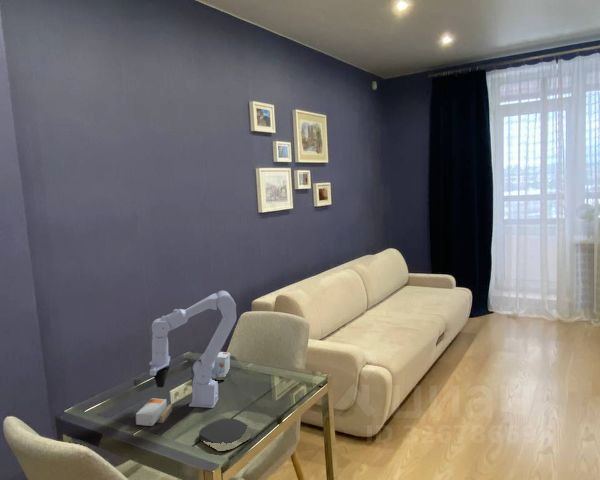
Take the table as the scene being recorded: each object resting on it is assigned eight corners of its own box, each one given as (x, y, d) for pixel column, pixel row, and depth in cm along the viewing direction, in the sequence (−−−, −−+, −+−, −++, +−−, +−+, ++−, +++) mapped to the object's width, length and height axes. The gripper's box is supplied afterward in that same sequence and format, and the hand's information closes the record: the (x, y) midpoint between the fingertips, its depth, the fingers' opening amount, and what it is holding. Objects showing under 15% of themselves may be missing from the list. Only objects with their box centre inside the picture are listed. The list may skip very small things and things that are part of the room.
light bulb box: (201, 379, 191) (201, 355, 190) (207, 373, 198) (207, 350, 197) (225, 381, 190) (225, 357, 188) (230, 375, 196) (230, 352, 195)
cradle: (172, 410, 163) (172, 404, 163) (162, 423, 154) (162, 416, 154) (146, 409, 164) (146, 402, 164) (135, 421, 155) (135, 414, 155)
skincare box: (166, 398, 163) (152, 414, 151) (166, 409, 163) (152, 426, 151) (151, 397, 163) (135, 413, 152) (151, 408, 164) (135, 425, 152)
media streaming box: (256, 437, 146) (257, 429, 146) (221, 456, 136) (222, 447, 135) (228, 422, 156) (228, 414, 156) (194, 438, 145) (194, 429, 145)
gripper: (157, 344, 170) (158, 378, 172) (141, 357, 156) (141, 394, 157) (175, 345, 170) (175, 379, 171) (160, 358, 155) (161, 395, 157)
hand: (160, 386), depth 164 cm, fingers closed
